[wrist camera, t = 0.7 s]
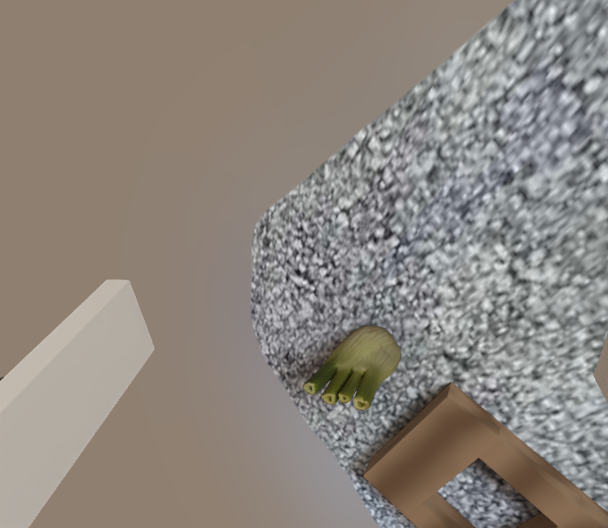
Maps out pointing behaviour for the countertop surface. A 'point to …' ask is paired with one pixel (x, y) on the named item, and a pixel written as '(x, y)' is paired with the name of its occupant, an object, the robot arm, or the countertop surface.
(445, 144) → the countertop surface
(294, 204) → the countertop surface
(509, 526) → the countertop surface
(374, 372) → the fennel bulb
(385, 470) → the jig block
